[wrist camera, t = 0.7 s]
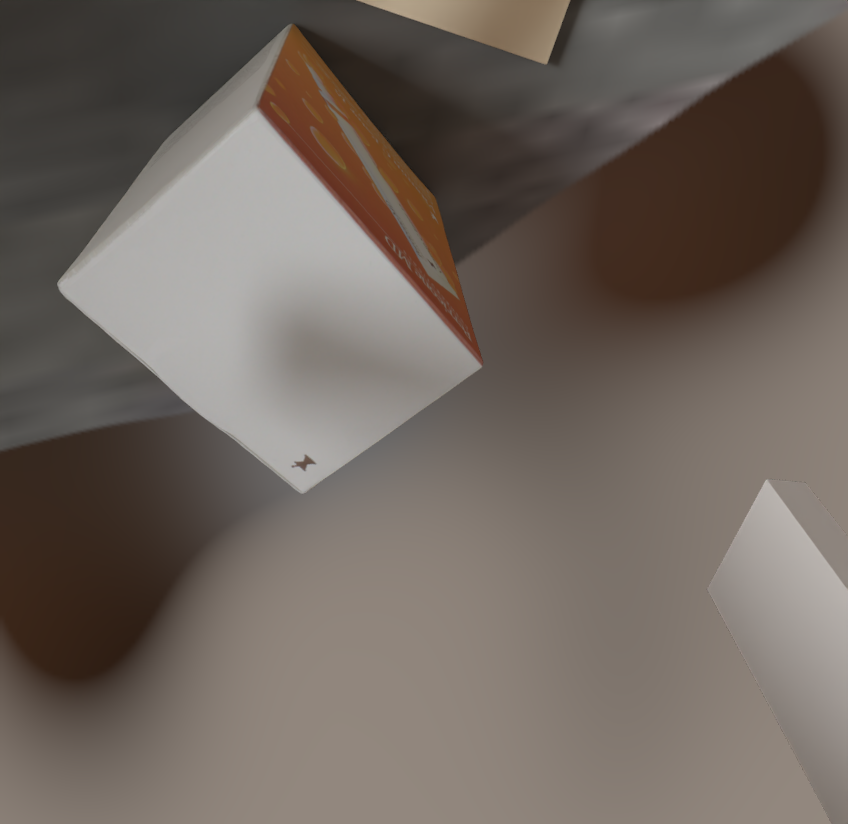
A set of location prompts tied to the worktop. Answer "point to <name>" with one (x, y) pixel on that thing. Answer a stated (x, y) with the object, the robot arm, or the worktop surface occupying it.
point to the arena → (490, 21)
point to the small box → (283, 271)
